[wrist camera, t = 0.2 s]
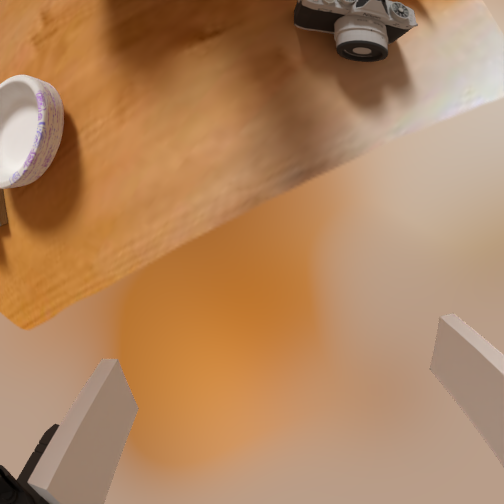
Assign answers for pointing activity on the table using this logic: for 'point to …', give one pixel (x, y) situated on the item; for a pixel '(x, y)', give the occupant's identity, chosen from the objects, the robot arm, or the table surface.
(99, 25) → the table surface
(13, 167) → the paper bowls
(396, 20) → the camera
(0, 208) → the panel
